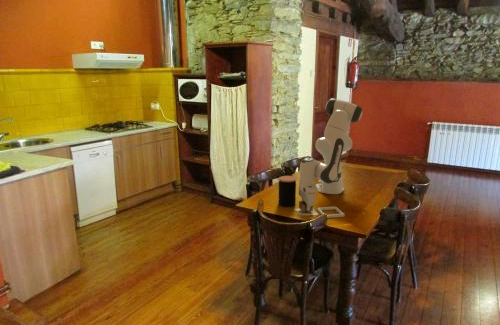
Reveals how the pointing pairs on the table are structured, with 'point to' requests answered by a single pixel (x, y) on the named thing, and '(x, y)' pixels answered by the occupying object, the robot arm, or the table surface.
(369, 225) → the table surface
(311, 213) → the stake
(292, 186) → the coffee jar
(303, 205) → the brown square block
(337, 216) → the grey square frame
